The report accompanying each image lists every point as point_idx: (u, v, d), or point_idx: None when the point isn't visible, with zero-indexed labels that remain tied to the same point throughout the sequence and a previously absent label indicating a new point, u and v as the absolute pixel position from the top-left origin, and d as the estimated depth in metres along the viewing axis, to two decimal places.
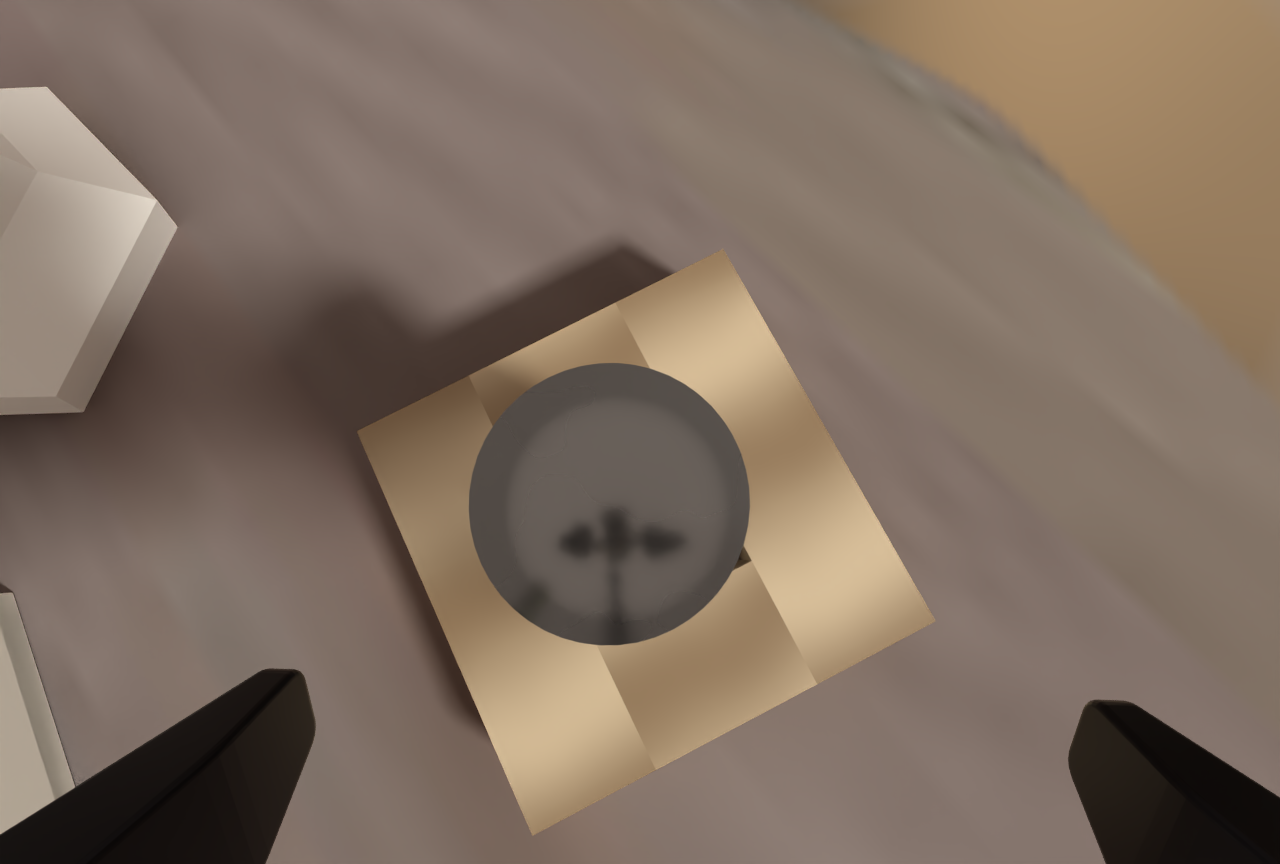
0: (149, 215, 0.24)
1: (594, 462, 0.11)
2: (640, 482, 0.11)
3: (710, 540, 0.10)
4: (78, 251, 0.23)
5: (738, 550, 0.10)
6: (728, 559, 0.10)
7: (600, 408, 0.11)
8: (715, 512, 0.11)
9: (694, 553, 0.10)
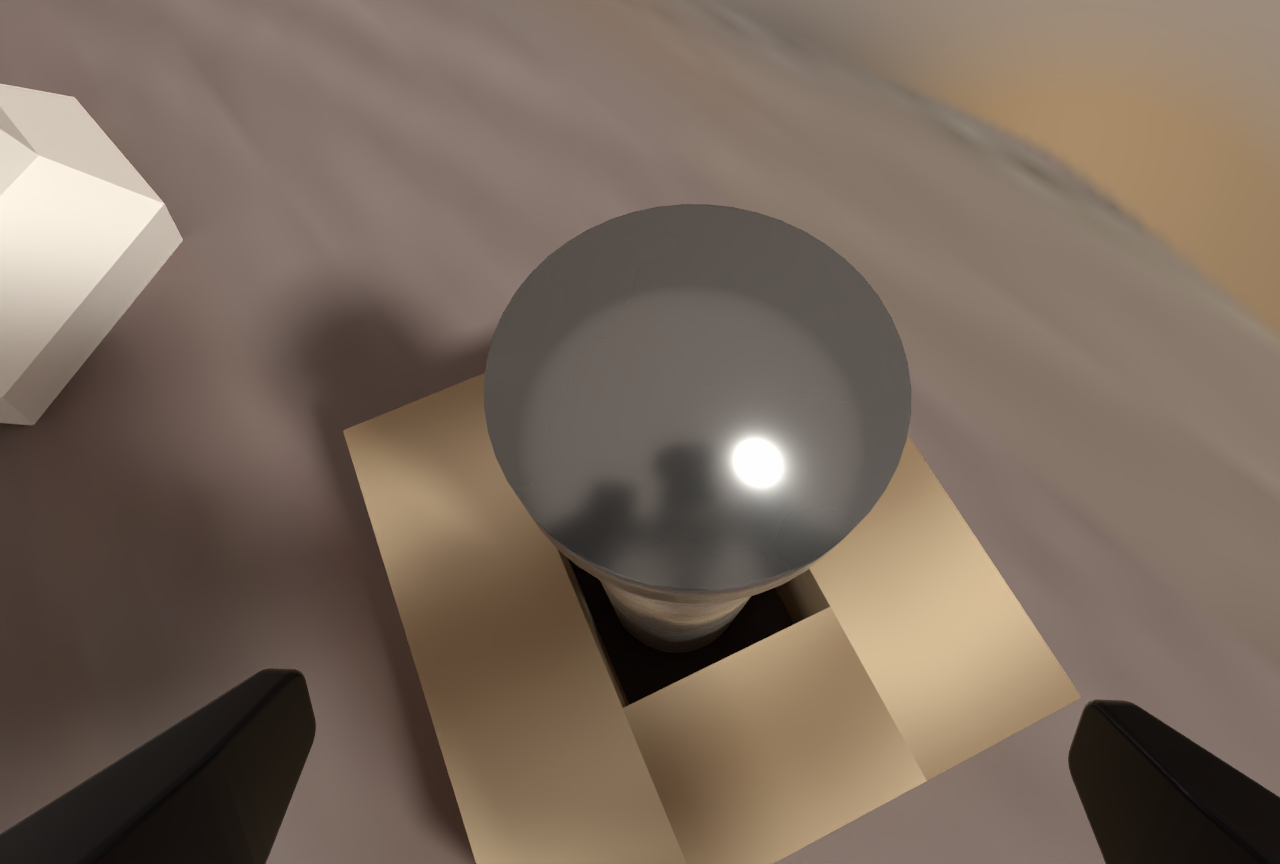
0: (152, 217, 0.22)
1: (674, 324, 0.07)
2: (743, 352, 0.07)
3: (853, 434, 0.07)
4: (66, 242, 0.21)
5: (898, 449, 0.07)
6: (883, 461, 0.07)
7: (684, 257, 0.08)
8: (858, 395, 0.07)
9: (829, 452, 0.07)
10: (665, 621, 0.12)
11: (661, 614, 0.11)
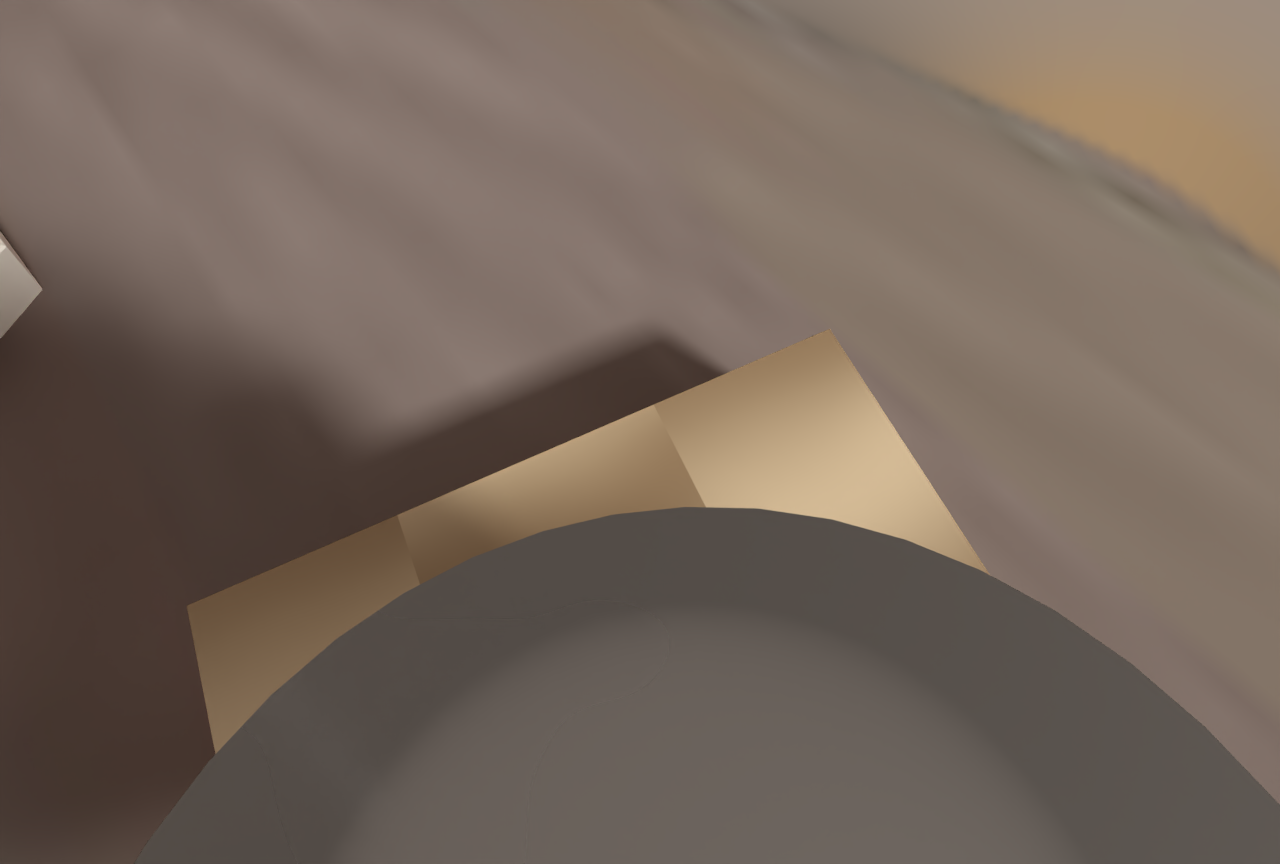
0: None
1: None
2: None
3: None
4: None
5: None
6: None
7: (691, 711, 0.02)
8: None
9: None
10: None
11: None
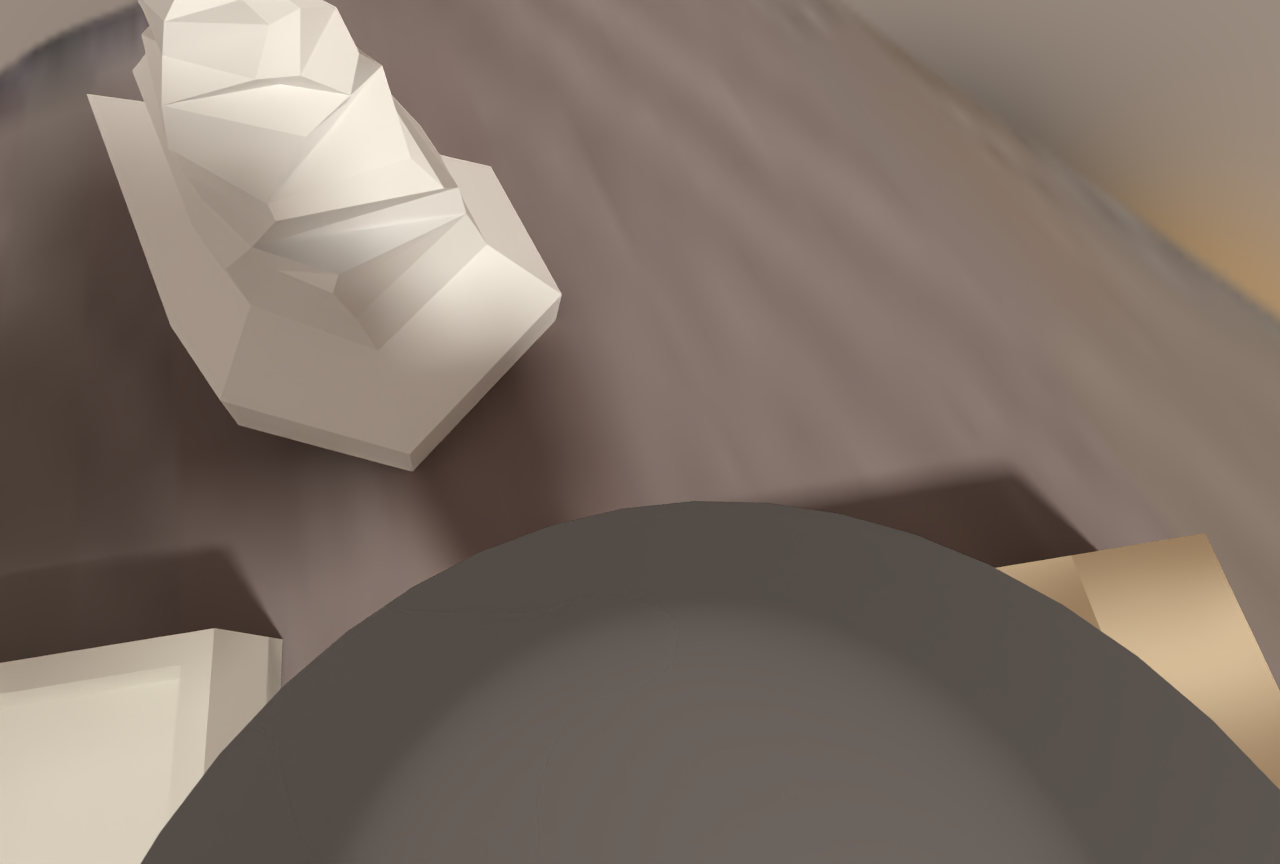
0: (550, 306, 0.24)
1: None
2: None
3: None
4: (485, 323, 0.23)
5: None
6: None
7: (700, 703, 0.02)
8: None
9: None
10: None
11: None
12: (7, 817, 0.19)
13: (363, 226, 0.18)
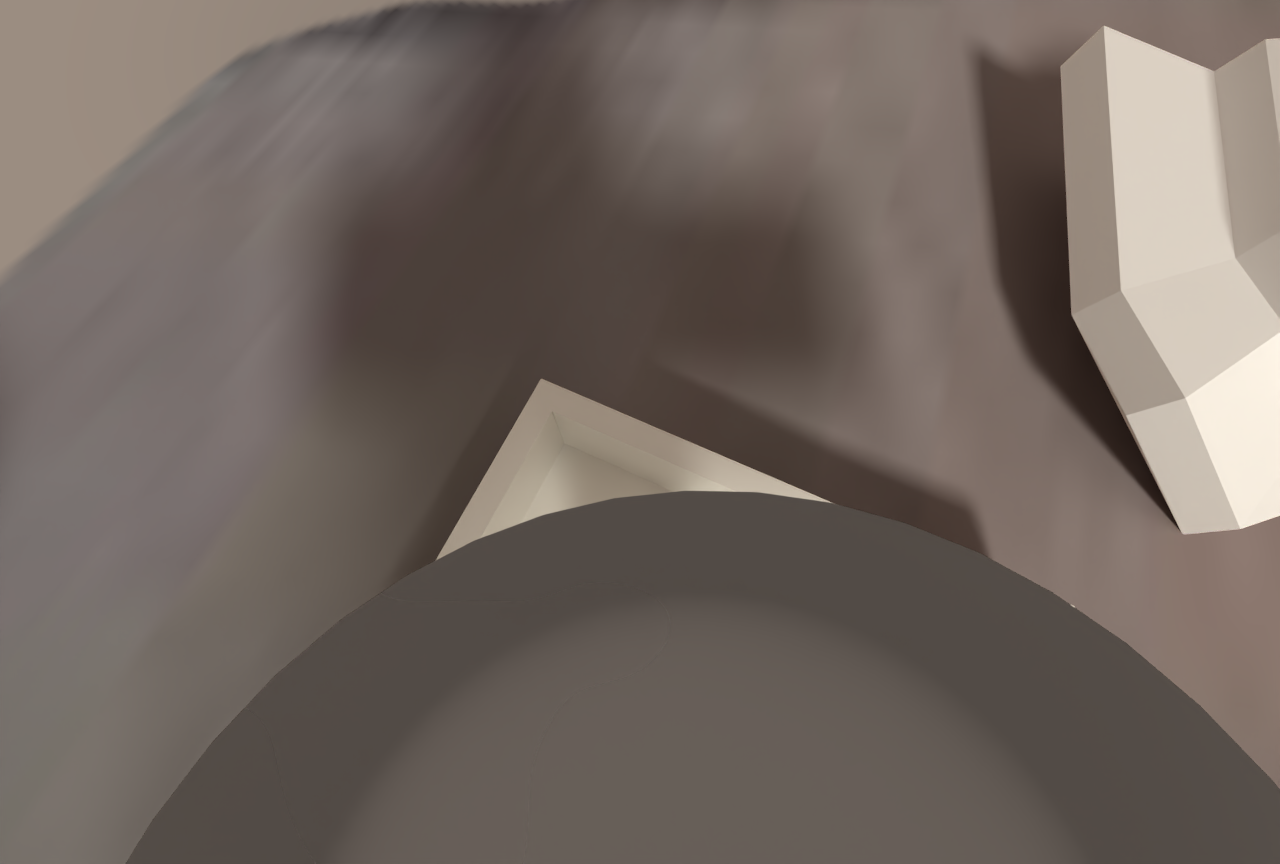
0: None
1: None
2: None
3: None
4: None
5: None
6: None
7: (692, 690, 0.02)
8: None
9: None
10: None
11: None
12: None
13: None
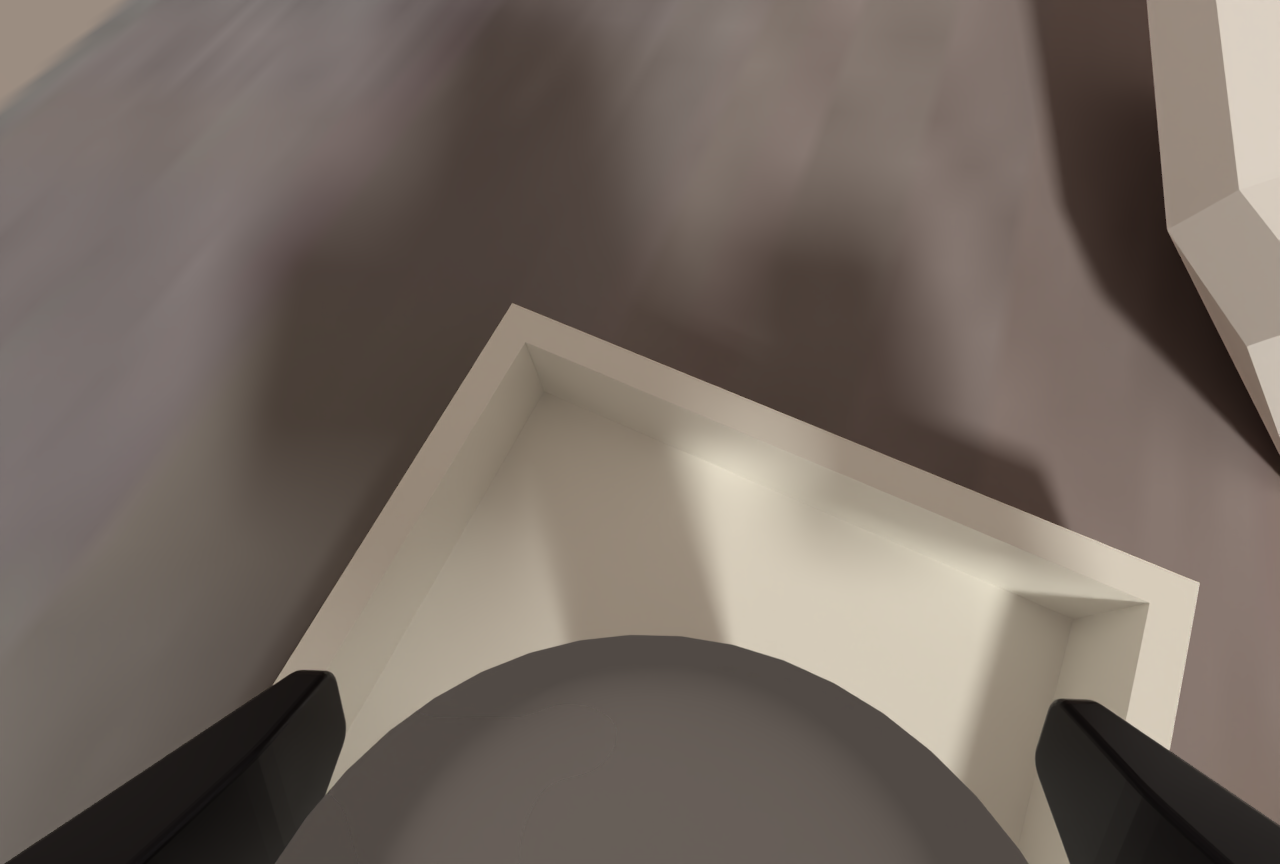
0: None
1: None
2: None
3: None
4: None
5: None
6: None
7: (630, 783, 0.04)
8: None
9: None
10: None
11: None
12: (768, 619, 0.16)
13: None
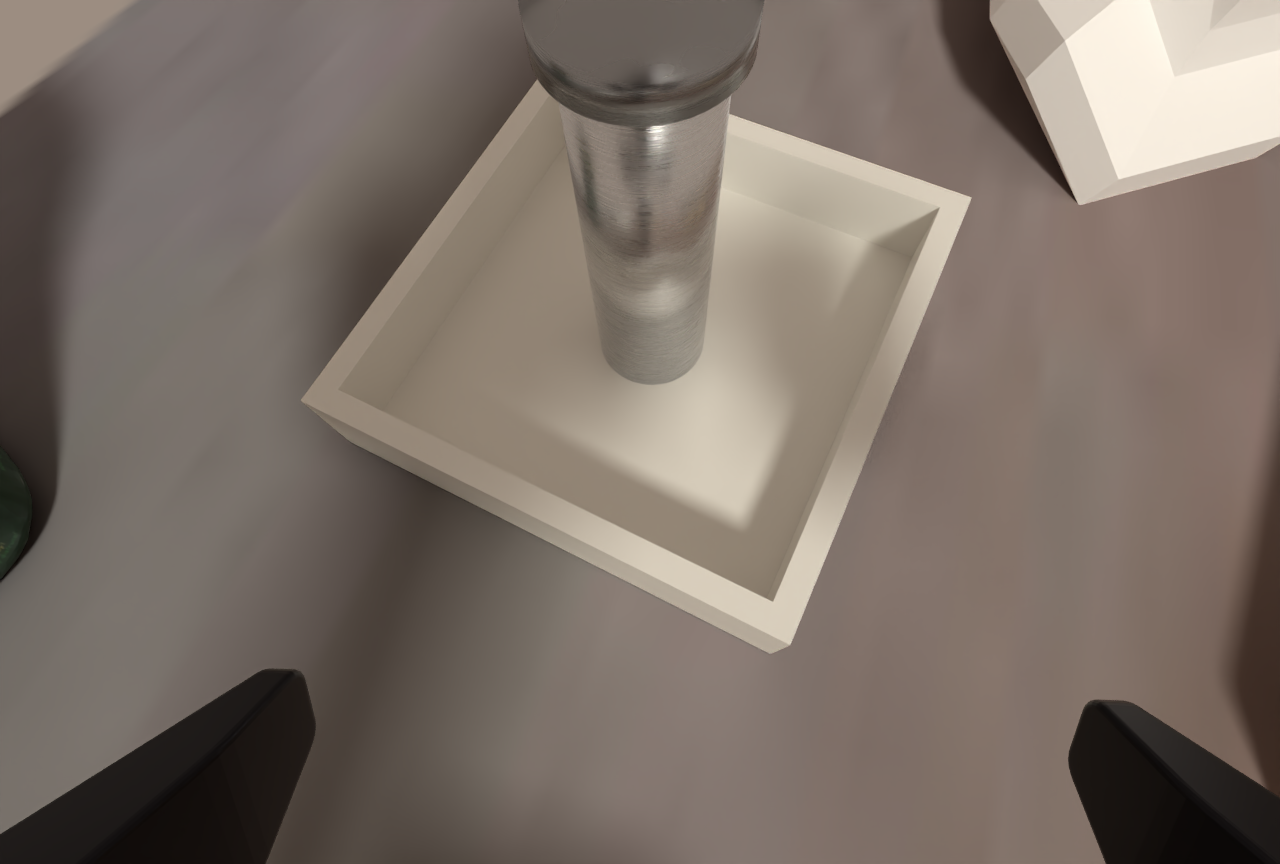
0: None
1: None
2: None
3: (729, 14, 0.12)
4: (1244, 112, 0.24)
5: (754, 20, 0.12)
6: (745, 26, 0.12)
7: None
8: None
9: (715, 22, 0.12)
10: (634, 272, 0.17)
11: (630, 252, 0.16)
12: (716, 257, 0.25)
13: None
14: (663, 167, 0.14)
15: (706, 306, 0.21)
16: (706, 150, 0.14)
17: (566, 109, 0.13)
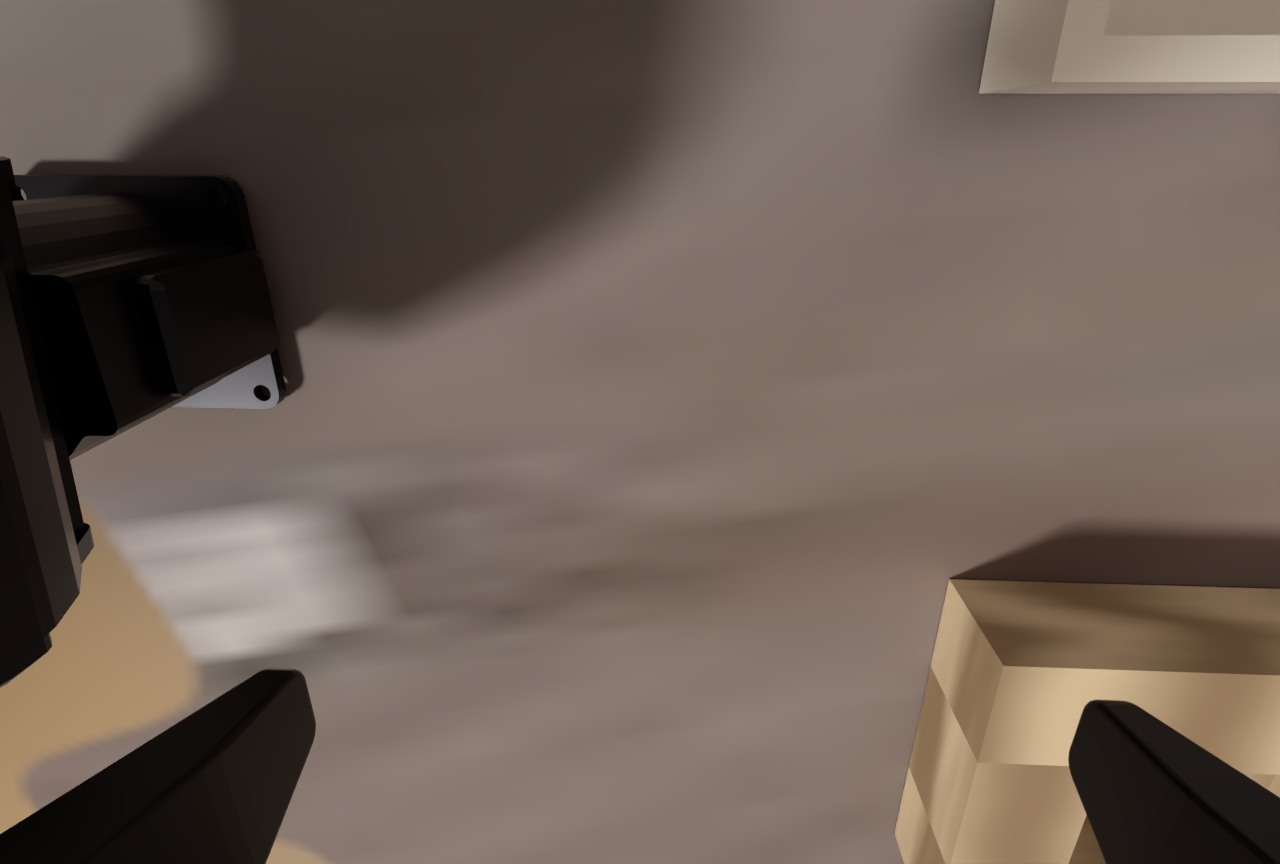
0: None
1: None
2: None
3: None
4: None
5: None
6: None
7: None
8: None
9: None
10: None
11: None
12: None
13: None
14: None
15: None
16: None
17: None
